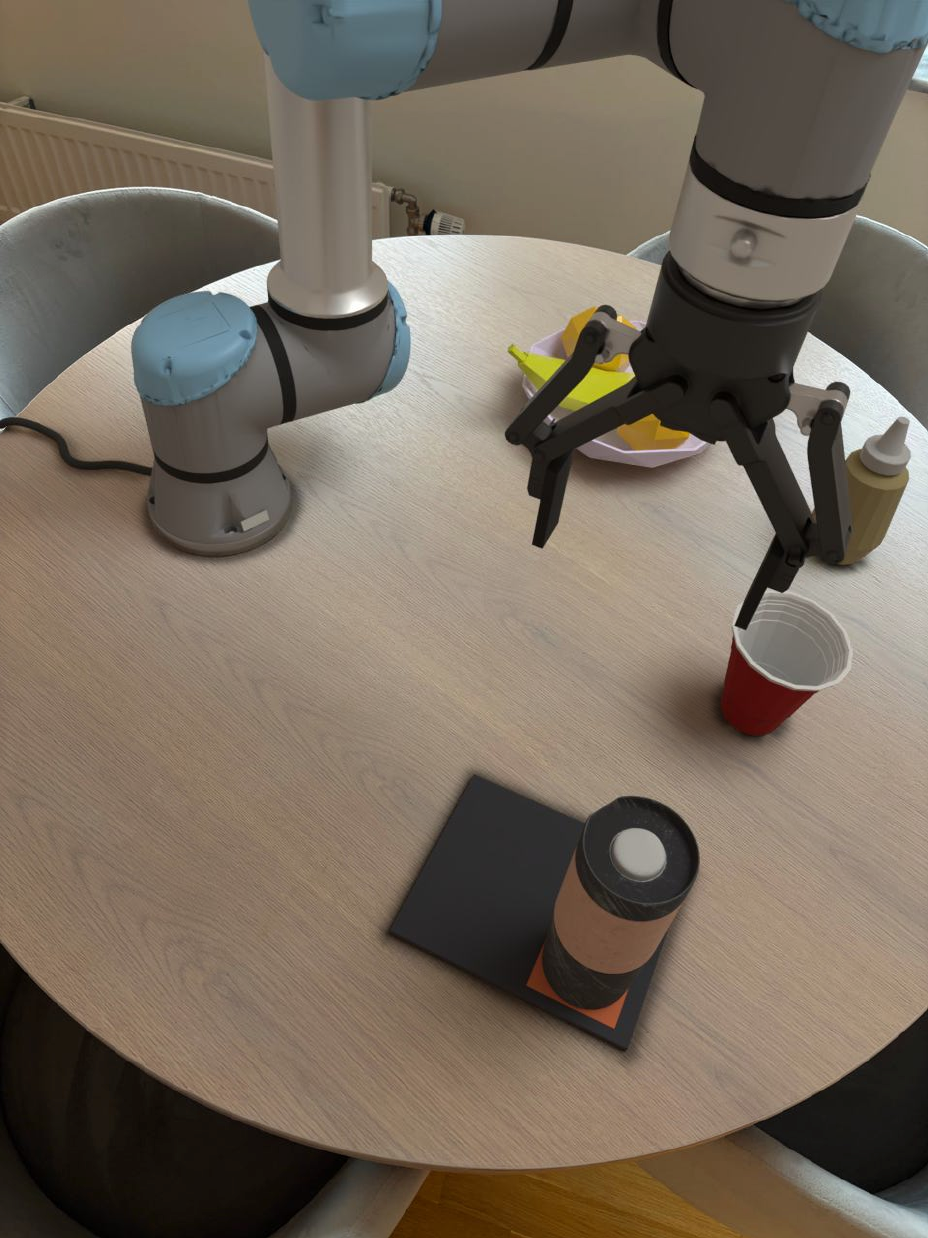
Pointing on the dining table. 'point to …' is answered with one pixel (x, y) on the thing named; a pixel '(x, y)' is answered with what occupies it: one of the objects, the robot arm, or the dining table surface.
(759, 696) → the plastic cup
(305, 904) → the dining table surface
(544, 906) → the mat
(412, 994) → the dining table surface
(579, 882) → the travel mug
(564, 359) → the fruit bowl
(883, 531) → the squeeze bottle
